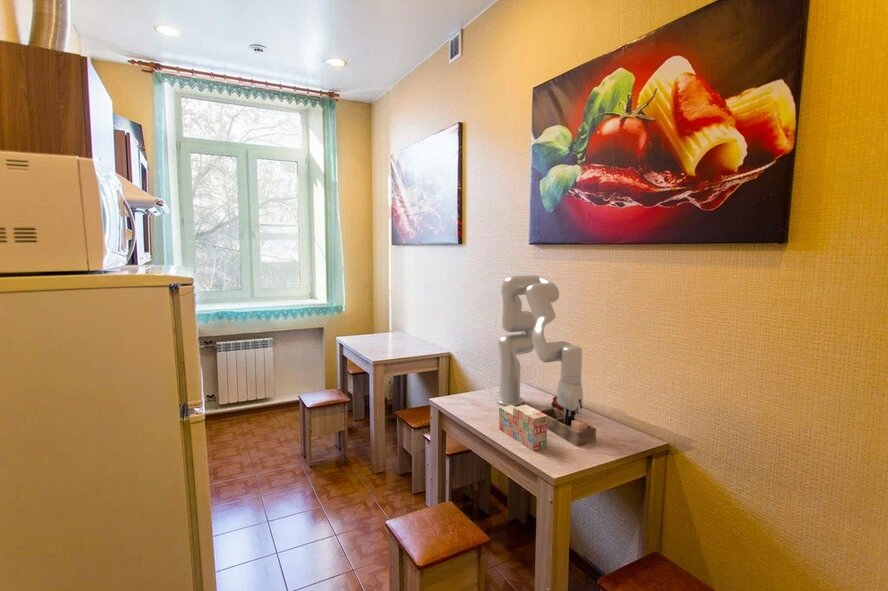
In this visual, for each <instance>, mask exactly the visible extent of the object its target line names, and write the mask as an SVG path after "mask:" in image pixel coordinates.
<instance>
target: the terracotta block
mask: <svg viewBox="0 0 888 591" xmlns="http://www.w3.org/2000/svg"><path fill="white" fill-rule="evenodd" d="M577 419H578V420H573V421H572V424H571V428H572V429H574V430H575V431H577V432H578V431H582V430H587V424H588V422H587V421H585V420H583V419H581V418H577Z"/></svg>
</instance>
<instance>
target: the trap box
mask: <svg viewBox="0 0 888 591" xmlns="http://www.w3.org/2000/svg"><path fill="white" fill-rule="evenodd" d="M537 410H538V411H540V412H542V413H543V414H545V415H547V416H548V418H547V431H549V432H551V433H553V434H555V435H557V436H559V438H562V439H563V440H564V441H565V440H566V441H567V442H569V443H571V444H572V445H574V446H576V447H580V446H584V445H587V444H592V443H596V442H597V428H596V427H594V426H592V425H590V424H589V423H587V430H582V431H578V432H577V431H575V430H574V429H572V428H571V426H567V425H565V415H566V414H564V411H560V410H558V409H556V408H553V407H550V408H545V409H537ZM578 419H579V418H576V417H574V420H578Z"/></svg>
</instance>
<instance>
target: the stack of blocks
mask: <svg viewBox="0 0 888 591" xmlns="http://www.w3.org/2000/svg"><path fill="white" fill-rule="evenodd" d="M498 409H499V410H498V412H499V413H498V414H499V418H498V420H499V421H498V422H499V423H498V424H499V428H498V429H499V430H500V431H501V432H503V433H504V434H506V435H507V436H509V437H510V438H512V439H514V440H515V441H517V442H518V443H520V444H521V445H523V446H525V447H526V448H528V449H529V450H531V451H532V452H536V451H539V450H543V449H546V448H547V447H548V446H547V444H548V440H547V436H548V429H547V418H548V416H547V415H545V414H543V413H542V412H540V411H538V410H539V409H537V408H534V407H532V406H529V405H527V404H521V405H517V406H513V405H508V406H506V405H503V406H500V407H498Z"/></svg>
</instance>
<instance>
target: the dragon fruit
mask: <svg viewBox="0 0 888 591" xmlns="http://www.w3.org/2000/svg"><path fill="white" fill-rule="evenodd" d="M551 408H556V409H558V410H560V411H562V412H564V409H563V408H562V407H561V406H560V405H559V404H558V403H557V395H555V396H554V397H553V398H552V402H551Z"/></svg>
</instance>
